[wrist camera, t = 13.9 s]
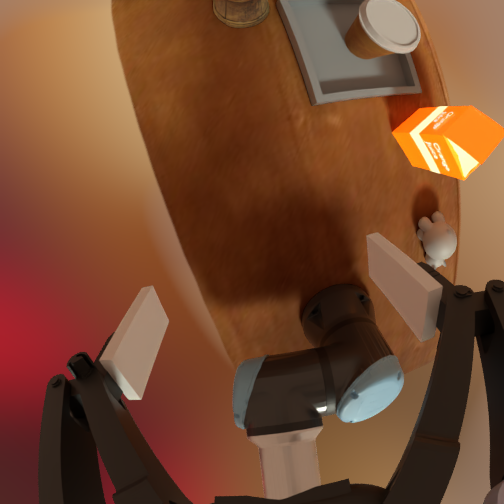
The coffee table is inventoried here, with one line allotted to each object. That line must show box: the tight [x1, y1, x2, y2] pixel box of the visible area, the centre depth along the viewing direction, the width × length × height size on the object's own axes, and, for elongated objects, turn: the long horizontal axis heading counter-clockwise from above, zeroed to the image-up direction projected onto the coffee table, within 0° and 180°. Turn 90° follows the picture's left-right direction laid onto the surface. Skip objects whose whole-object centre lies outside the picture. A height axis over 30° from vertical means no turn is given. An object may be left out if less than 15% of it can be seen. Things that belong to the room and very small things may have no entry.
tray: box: [276, 0, 422, 106], centre depth 32 cm, size 20×20×4 cm
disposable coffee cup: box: [345, 0, 421, 60], centre depth 27 cm, size 10×10×12 cm
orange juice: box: [392, 106, 504, 180], centre depth 30 cm, size 8×9×20 cm
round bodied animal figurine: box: [417, 211, 457, 270], centre depth 44 cm, size 7×12×8 cm, turn 18°
